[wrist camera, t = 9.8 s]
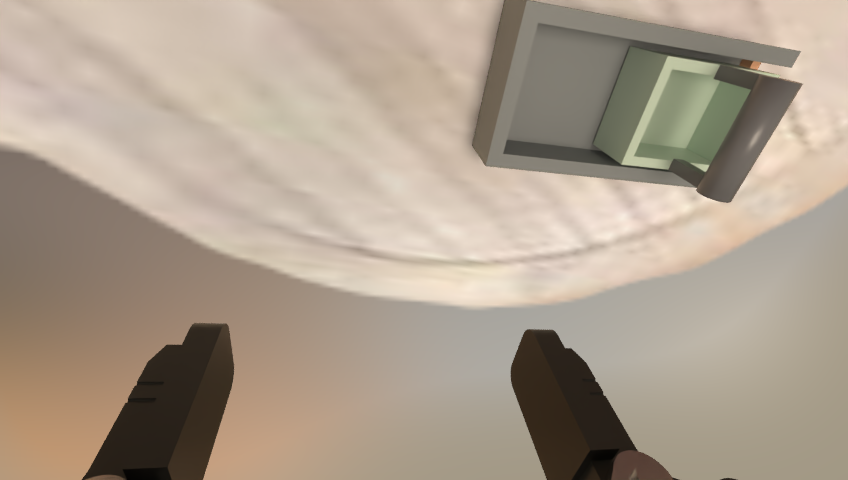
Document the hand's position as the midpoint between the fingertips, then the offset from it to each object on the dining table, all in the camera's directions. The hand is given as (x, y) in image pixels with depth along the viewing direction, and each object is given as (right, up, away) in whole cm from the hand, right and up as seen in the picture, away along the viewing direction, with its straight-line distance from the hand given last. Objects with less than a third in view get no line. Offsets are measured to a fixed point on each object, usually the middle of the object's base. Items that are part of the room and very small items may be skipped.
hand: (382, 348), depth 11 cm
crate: (+22, +15, +26) cm, 37 cm away
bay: (+18, +16, +26) cm, 35 cm away
